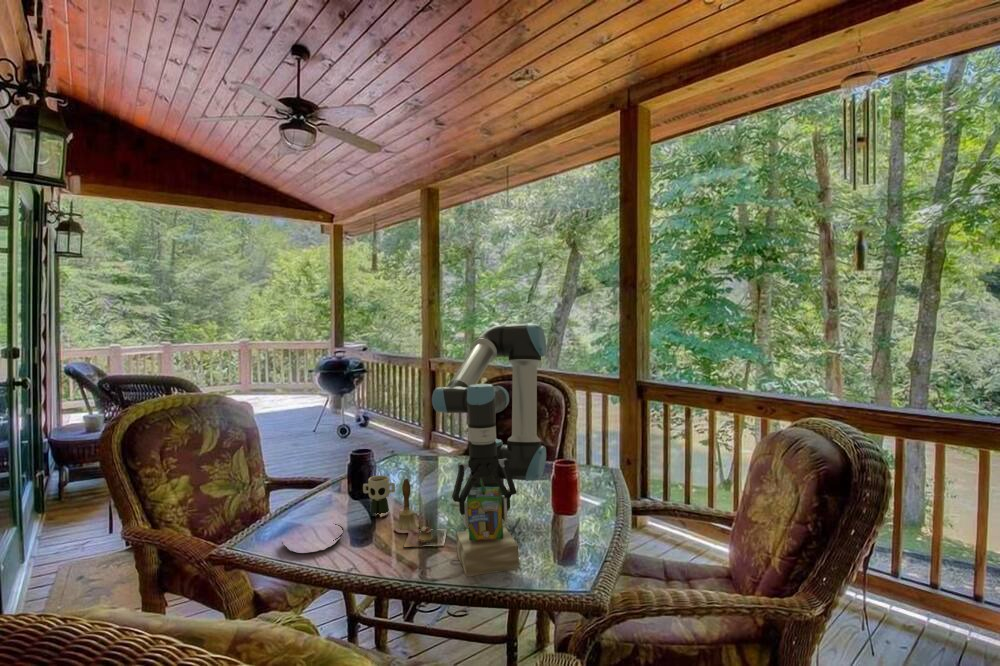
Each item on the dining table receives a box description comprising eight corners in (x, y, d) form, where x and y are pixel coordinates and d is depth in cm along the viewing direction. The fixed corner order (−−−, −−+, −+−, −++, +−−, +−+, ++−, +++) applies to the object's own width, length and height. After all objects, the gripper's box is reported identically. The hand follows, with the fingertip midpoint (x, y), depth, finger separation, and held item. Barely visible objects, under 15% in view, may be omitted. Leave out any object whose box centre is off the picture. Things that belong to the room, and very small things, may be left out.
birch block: (456, 553, 143) (456, 532, 143) (504, 546, 146) (504, 525, 146) (466, 576, 129) (465, 553, 129) (519, 568, 133) (518, 545, 133)
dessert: (447, 532, 160) (446, 517, 160) (444, 548, 148) (443, 532, 148) (409, 534, 159) (408, 518, 159) (402, 550, 147) (402, 534, 147)
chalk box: (503, 540, 133) (501, 484, 133) (468, 541, 133) (466, 485, 133) (503, 526, 142) (501, 473, 142) (470, 527, 143) (468, 474, 142)
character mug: (361, 520, 171) (360, 481, 171) (366, 512, 178) (365, 475, 178) (393, 519, 171) (392, 480, 171) (397, 511, 178) (396, 474, 178)
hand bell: (410, 522, 168) (408, 473, 168) (425, 528, 162) (423, 478, 162) (388, 529, 162) (387, 479, 162) (403, 536, 156) (401, 484, 156)
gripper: (443, 448, 131) (446, 534, 131) (526, 440, 137) (529, 522, 137) (439, 442, 138) (442, 523, 139) (518, 435, 144) (521, 512, 144)
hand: (485, 523), depth 138 cm, fingers closed on chalk box, 10 cm apart
